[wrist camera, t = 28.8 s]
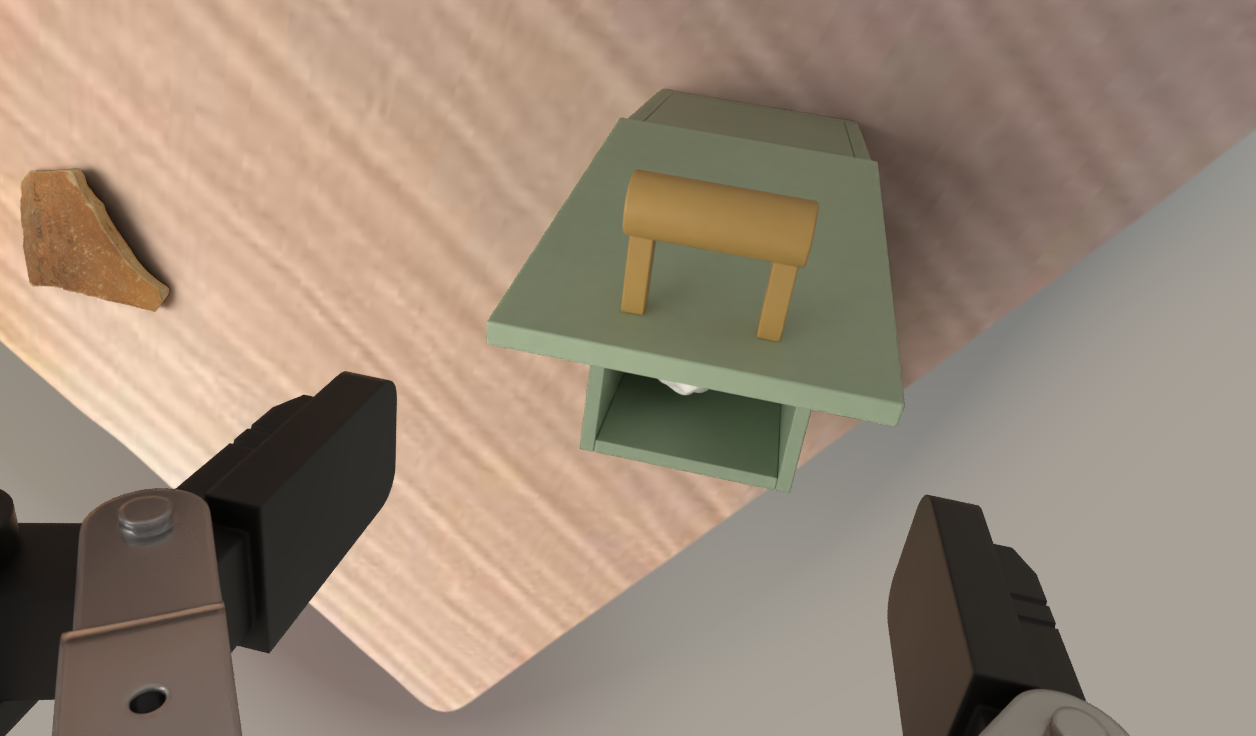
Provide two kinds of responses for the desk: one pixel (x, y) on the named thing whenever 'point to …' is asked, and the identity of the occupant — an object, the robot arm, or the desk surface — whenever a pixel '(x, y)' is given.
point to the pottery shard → (80, 243)
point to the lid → (718, 272)
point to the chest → (713, 420)
